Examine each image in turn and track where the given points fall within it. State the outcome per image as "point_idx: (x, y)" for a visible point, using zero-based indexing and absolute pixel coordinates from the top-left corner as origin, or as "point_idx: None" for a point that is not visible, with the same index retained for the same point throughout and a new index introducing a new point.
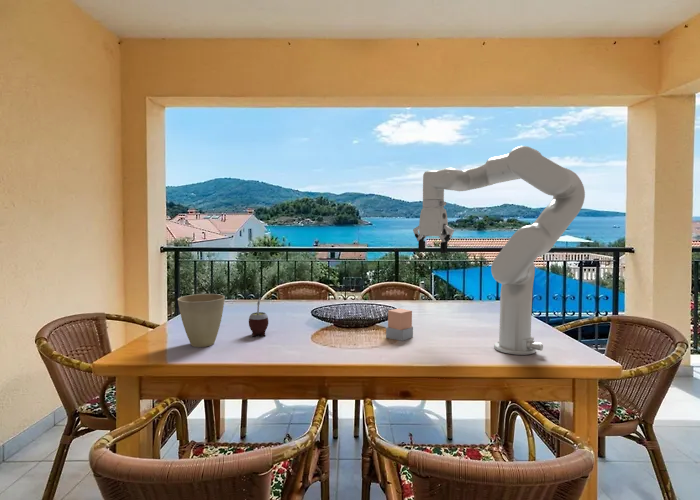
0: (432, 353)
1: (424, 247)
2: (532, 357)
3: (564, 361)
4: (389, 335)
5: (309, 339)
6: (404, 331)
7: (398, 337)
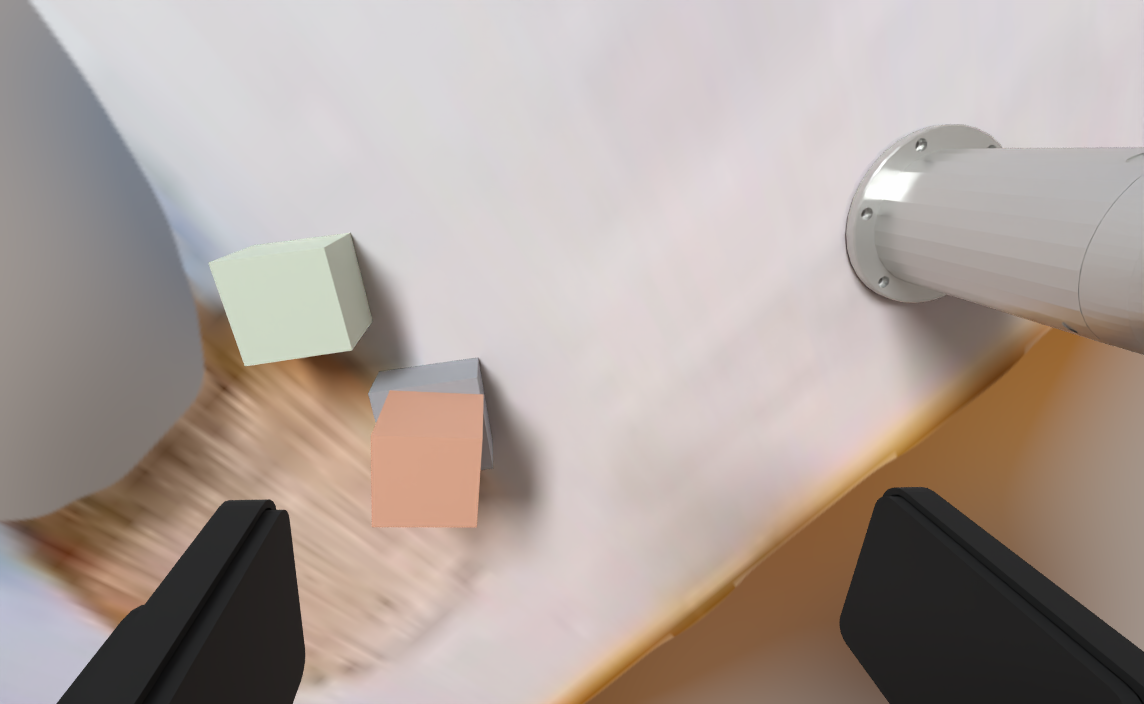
0: (678, 485)
1: (244, 607)
2: None
3: None
4: None
5: None
6: (491, 453)
7: None
